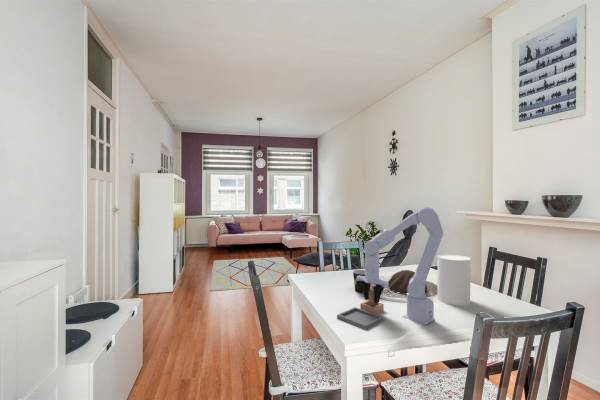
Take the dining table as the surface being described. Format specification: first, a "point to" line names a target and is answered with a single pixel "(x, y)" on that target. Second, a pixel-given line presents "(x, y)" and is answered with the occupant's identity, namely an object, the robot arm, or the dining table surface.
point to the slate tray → (360, 318)
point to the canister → (453, 279)
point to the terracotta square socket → (375, 309)
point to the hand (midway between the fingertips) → (371, 300)
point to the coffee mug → (357, 283)
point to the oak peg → (371, 298)
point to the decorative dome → (401, 281)
